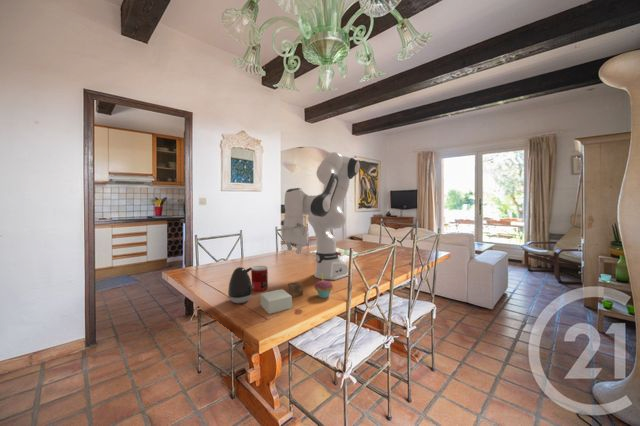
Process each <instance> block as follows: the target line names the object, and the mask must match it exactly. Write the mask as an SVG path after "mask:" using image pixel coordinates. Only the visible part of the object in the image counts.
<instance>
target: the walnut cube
mask: <svg viewBox="0 0 640 426" xmlns="http://www.w3.org/2000/svg"><path fill="white" fill-rule="evenodd" d="M287 285H288V286H287V288H288V294H290V295H291V296H292V298H295V297H300V296H303V292H304V291H303V288H304V287H303V283H300V282H299V281H294V282H289V283H288V284H287Z"/></svg>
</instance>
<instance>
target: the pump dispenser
mask: <svg viewBox="0 0 640 426" xmlns="http://www.w3.org/2000/svg"><path fill="white" fill-rule="evenodd" d="M251 270H252V267H251V266H250V267H249V268H246V269H245V267H242V266H241V267H236V268H235V269H234V270H233V272H232V274H231V276H230V278H229V282H228V290H227V295H228V297H229V299H230V301H231V302H232V303H234V304H243V303H246V302H248V301H249V300H250V299H251V297H252V294H253V290H252V279H251V278H250V275H249V272H250V271H251Z"/></svg>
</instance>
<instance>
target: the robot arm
mask: <svg viewBox="0 0 640 426" xmlns="http://www.w3.org/2000/svg"><path fill="white" fill-rule="evenodd" d="M360 163H361V162H360V160H359V159H358V158H355V157H353V156H348V155H347V156H346V155H341V154H340V153H338V152H335V151H334V152H330V153H329V154H327V155H326V156H325V157H324V158H323V160H322V161H321V163H320V164H319V165H318V167H317V170H316V177H317V179H318V181H319V183H322V184H323V185H324V187H323V190H322V192H321V193H319V194H318V195H308V194H306V193H305V192H304V191H303V189H302V188H300V187H294V188H289V189H287V190H286V191H285V193H284V204H283V205H284V210H285V211H284V215H283V216H284V218H283V219H282V220H281V221H280V226H281V239H282V240H283V241H285V243H286V247H287V248H286V249H287V251H289V252H290V251H291V252H292V250H293V246H292V244H294V245H296V248H297V249H296V250H295V253H296V254H297V255H301V254H302V249H303V246H306V245H307V244H308V235H307V233H308V232H307V229H306V227H305V225H304V216H307V221H308V224H310V226H311V228H312V229H313V231H314V234H315V238H316V252H315V258H316V259H315V260H316V261H315V262H316V265H315V271H314V278H317V279H321V280H322V276H321V273H323V280H332V281H336V280H340V279H343V278H346V277H349V276H348V269H349V268H348V265H347V263H346V262H345V261H344V260H342V259H341V258H339V257H341V256H342V255H343V253H342V252H340V251H337V245H336V244H337V243H336V241H337V240H336V237H335V236H334V235H333V234H332V232H331V229H332V230H336V229H341V228H343V226H344V225H345V224H346V214H345V212H343V203H344V201H345V198H346V195H347V193H348V190H349V186H350V183H351V179H353V178H354V177H356V175H358V173H359V172H360V166H361V164H360Z"/></svg>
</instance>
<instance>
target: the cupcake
mask: <svg viewBox="0 0 640 426" xmlns="http://www.w3.org/2000/svg"><path fill="white" fill-rule="evenodd" d="M321 276H322V279H321V280H318V281H317V282H316V283H314V289H315V291H316V292H317V294H318V297H319V298H320V299H326V298H329V297H330V294H331V292H332V290H333V288H334V287H333V283H332V282H331V281H329V280H328V279H323V273H321Z"/></svg>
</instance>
